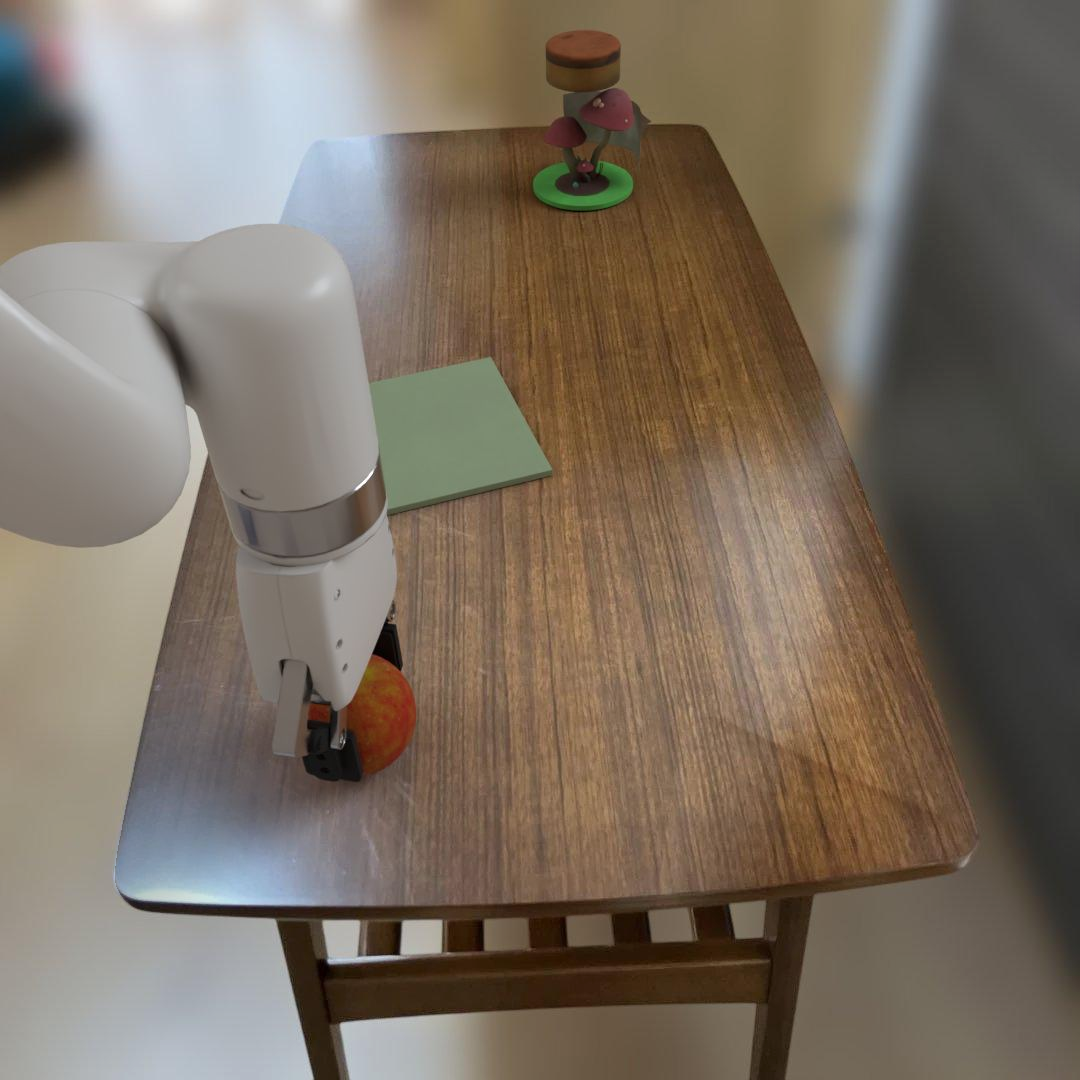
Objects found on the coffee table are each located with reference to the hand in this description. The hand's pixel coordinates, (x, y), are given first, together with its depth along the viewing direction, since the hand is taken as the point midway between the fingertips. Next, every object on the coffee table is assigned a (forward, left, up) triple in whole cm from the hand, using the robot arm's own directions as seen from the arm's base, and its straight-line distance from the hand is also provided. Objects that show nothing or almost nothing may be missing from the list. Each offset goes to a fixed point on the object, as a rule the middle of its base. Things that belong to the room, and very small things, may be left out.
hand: (357, 717), depth 65 cm
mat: (+10, +28, -3) cm, 30 cm away
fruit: (0, 0, -3) cm, 3 cm away
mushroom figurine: (+38, +63, -3) cm, 74 cm away
